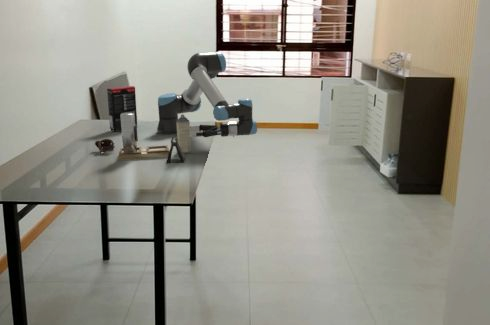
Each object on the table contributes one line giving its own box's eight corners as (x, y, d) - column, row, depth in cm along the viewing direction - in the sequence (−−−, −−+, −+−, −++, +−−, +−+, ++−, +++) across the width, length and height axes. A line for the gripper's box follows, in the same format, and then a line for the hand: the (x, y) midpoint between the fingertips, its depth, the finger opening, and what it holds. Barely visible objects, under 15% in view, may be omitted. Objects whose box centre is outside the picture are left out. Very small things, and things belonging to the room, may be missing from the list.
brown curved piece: (119, 150, 287) (117, 139, 281) (110, 162, 280) (108, 151, 274) (99, 144, 289) (97, 133, 283) (90, 155, 283) (88, 144, 277)
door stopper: (185, 159, 264) (183, 136, 261) (184, 162, 258) (183, 139, 255) (167, 160, 263) (165, 136, 260) (166, 163, 258) (164, 139, 254)
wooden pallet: (119, 155, 275) (118, 148, 274) (169, 151, 280) (168, 145, 279) (118, 160, 265) (118, 153, 264) (170, 156, 269) (170, 150, 268)
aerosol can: (191, 149, 282) (189, 113, 277) (191, 153, 276) (189, 115, 270) (178, 150, 282) (176, 113, 276) (178, 153, 275) (175, 116, 270)
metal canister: (123, 151, 273) (120, 113, 268) (138, 150, 274) (135, 112, 269) (123, 154, 266) (119, 115, 261) (138, 153, 268) (135, 114, 262)
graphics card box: (133, 126, 346) (129, 85, 339) (138, 128, 341) (135, 86, 334) (109, 130, 335) (105, 88, 328) (115, 132, 330) (111, 89, 323)
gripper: (232, 141, 269) (191, 144, 265) (224, 131, 293) (186, 133, 289) (232, 126, 267) (190, 129, 263) (224, 118, 291) (185, 120, 287)
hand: (188, 131), depth 276 cm, fingers open, 13 cm apart
